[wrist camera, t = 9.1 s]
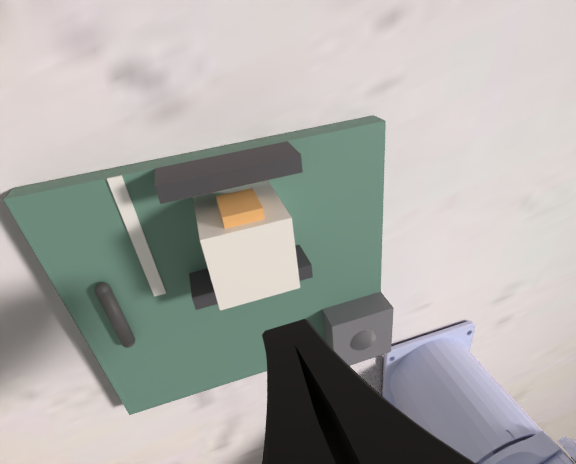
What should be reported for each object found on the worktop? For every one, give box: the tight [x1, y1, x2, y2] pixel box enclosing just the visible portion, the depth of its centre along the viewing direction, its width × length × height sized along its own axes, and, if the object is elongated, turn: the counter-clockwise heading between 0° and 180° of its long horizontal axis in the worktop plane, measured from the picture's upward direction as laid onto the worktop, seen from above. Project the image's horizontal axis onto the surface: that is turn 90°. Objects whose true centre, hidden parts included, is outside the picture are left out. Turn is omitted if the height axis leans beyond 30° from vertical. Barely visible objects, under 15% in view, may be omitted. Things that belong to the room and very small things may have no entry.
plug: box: [193, 180, 300, 311], centre depth 17 cm, size 4×4×4 cm
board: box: [3, 116, 393, 415], centre depth 20 cm, size 15×17×3 cm
